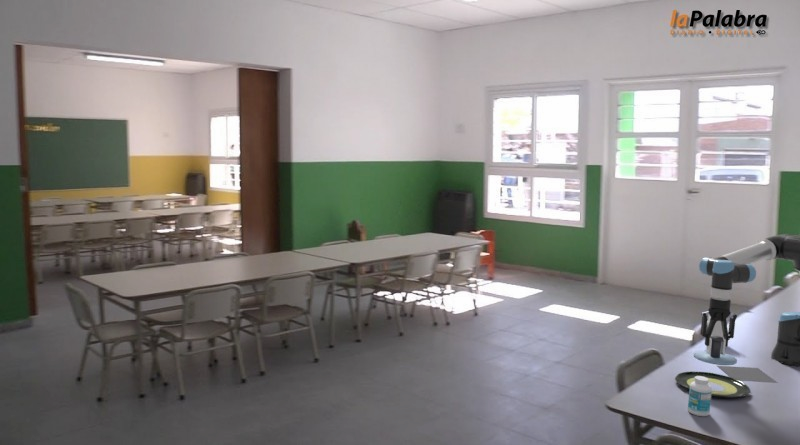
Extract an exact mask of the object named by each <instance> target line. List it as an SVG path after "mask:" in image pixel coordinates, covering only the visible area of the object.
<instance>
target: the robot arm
mask: <svg viewBox="0 0 800 445" xmlns="http://www.w3.org/2000/svg"><path fill="white" fill-rule="evenodd" d="M777 259H778V260H785V261H789V262H792V264H793V268H794V270H795V271H796V272H798V273H799V275H800V235H798V234H797V235H796V234H792V233H781V234H776V235H773V236H769V237H765V238H763V239H760V240H758V242H757V243H756V244H755V243H754V244H752V245H749V246H746V247H744V248H741V249H738V250H735V251H732V252H730V253H725V254H723V255H721V256H718V257H714V258H713V257H703V258H702V259H700V262H699V264H698V266H699V267H698V268H699V269H698V270H699V271H700V273H701V274H703V275H706V276H708V277H711V286H710V295H709V296H710V298H709V308H708V310H707V311H701V312H700V314H701V324H700V335H701V336H702V337H704V346H706V348H705V350H706V353H708V354H710V355H711V345H712V339H711V338H710V337H711V334H712V331H713V328H714V326H715V323H716V322H717V321H721V325H722V331H723V337H724V338H723V341H721V351H720V354H722V355H725V354H726V348H728V345H729V340H731V339H734V337H735V335H734V334H735V327H736V320H737V318H738V315H737V314H735V313H733V312H731V302H732V301H731V298H732V293H733V292H732V290H733V284H740V283H741V284H744V283H745V284H746V283H751V282H752V281H754V280H755V279H756V276H757V270H756V268H755V267H754V266H753V265H752V264H757V263H758V262H762V261H772V260H777ZM709 315H710V316H711V318H710V323H709V325H708V318H709ZM727 317H728V318H729V322H727V320H726V319H727ZM778 318H779V319H778V329H777V337H776V338H777V339H776V344H775V346H774V347H773V349H772V351H771V356H770V358H771V359H772V360H775V361H776V362H778V363H780V364H784V365H787V366H788V365H789V366H796V367H797V366H798V367H800V312H799V311H797V312H796V311H786V312H785V311H784V312H782V313H780V314H779V317H778Z"/></svg>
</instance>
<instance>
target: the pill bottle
mask: <svg viewBox="0 0 800 445" xmlns="http://www.w3.org/2000/svg"><path fill="white" fill-rule="evenodd" d="M694 380H695V382H692V383H691V384H690V390H689V389H688V390H689V393H688V403H687V411H688V412H689V413H690V414H692V415H694V416H698V417H708V416H709V415H710V413H711V402H712V400H711V399H712V396H711V393H712V391H713V389H712V388H713V387H712V386H711V384H710V383H709V382H708V381H709V379H708V378H706V377H703V376H695V379H694Z"/></svg>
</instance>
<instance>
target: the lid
mask: <svg viewBox="0 0 800 445" xmlns="http://www.w3.org/2000/svg"><path fill="white" fill-rule="evenodd" d="M710 338H711V339H712V345H711V355H710V354H708V353H706V349H705V350H697V351H694V352H693V358H694V359H697V361H701V362H702V363H707V364H712V365H716V366H733V365H736V364H737V362H738V360H737V358H736V357H735V356H733V355H731V354H727V353H725V355H722V354H720V351H721V341H723V337H720V336H711V337H710Z"/></svg>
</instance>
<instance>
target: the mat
mask: <svg viewBox="0 0 800 445" xmlns="http://www.w3.org/2000/svg"><path fill="white" fill-rule="evenodd" d="M716 367H717V368H718V369H719V370H721V371H722V372H723V373H724V374H725V375H727V377H731V378H733V379H736V380H738V381H741V382H755V383H756V382H757V383H758V382H759V383H773V384H774V383H776V384H777V383H778V382H777V381H776V380H775V379H774V378H772V377H771V376H770V375H768V374H767V373H765V372H764V371H763V370H761V368H759V367H749V366H747V367H746V366H733V365H716Z"/></svg>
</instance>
